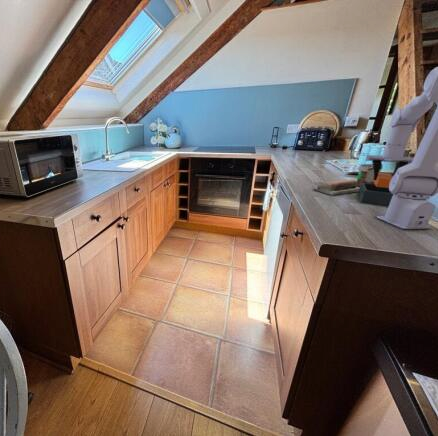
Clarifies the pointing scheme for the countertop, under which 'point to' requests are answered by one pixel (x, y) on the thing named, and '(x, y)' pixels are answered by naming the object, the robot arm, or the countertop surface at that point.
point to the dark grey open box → (374, 194)
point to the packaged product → (337, 187)
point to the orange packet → (383, 180)
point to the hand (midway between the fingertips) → (383, 180)
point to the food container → (366, 174)
